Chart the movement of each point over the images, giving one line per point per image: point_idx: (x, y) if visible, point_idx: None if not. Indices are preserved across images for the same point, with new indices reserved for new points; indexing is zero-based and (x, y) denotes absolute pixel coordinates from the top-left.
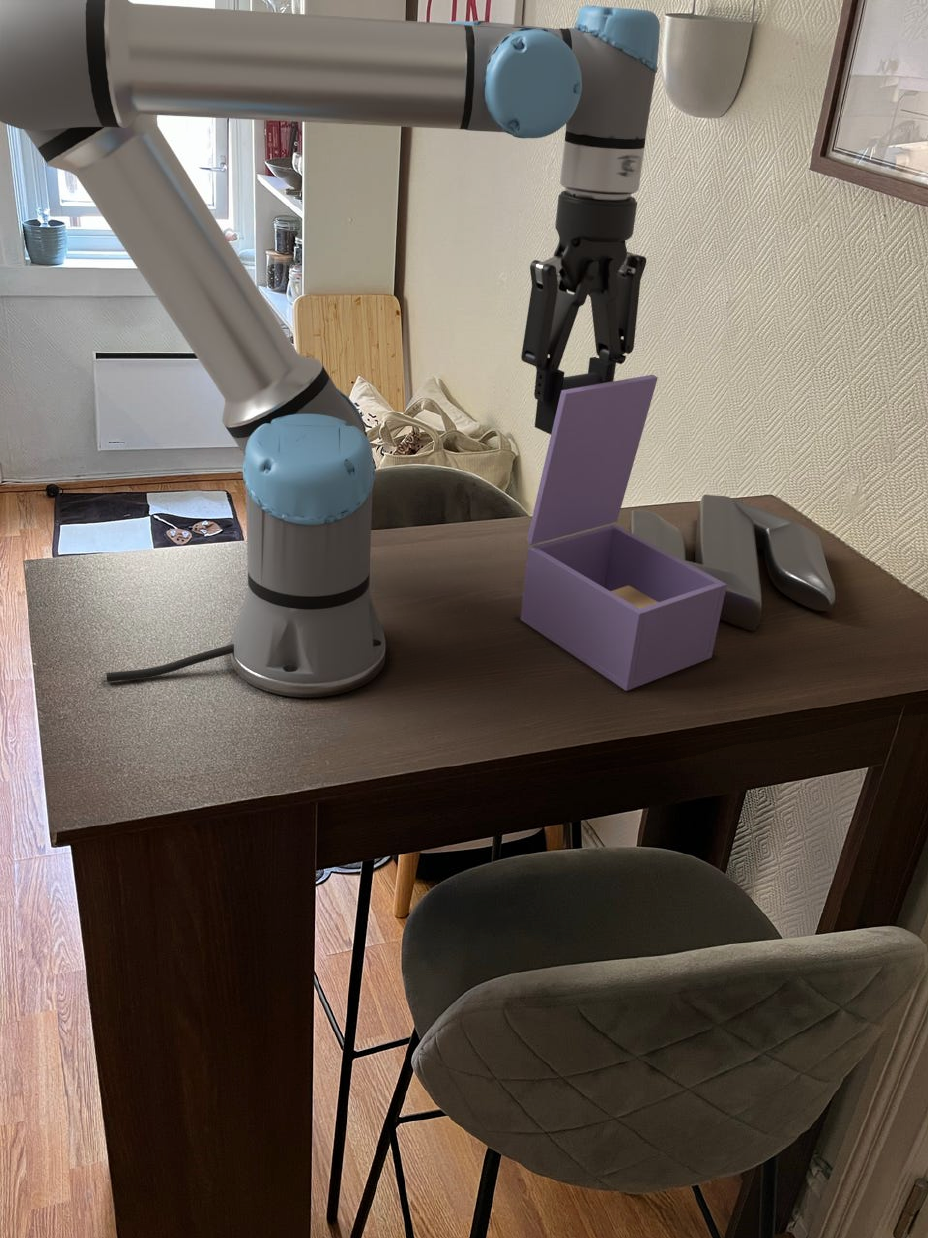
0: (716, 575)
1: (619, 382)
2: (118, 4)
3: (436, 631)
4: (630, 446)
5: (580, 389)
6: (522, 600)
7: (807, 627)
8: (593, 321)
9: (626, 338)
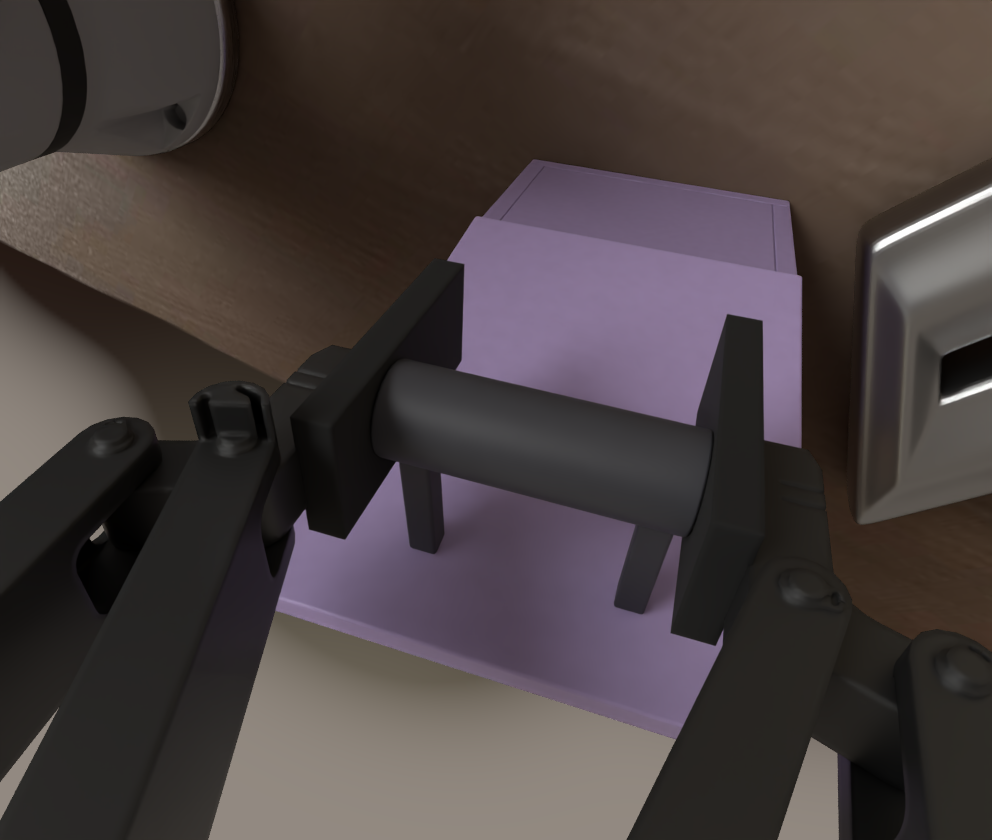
0: (885, 451)
1: (542, 690)
2: None
3: (361, 77)
4: None
5: (318, 621)
6: (521, 173)
7: (950, 534)
8: (653, 787)
9: (839, 825)
